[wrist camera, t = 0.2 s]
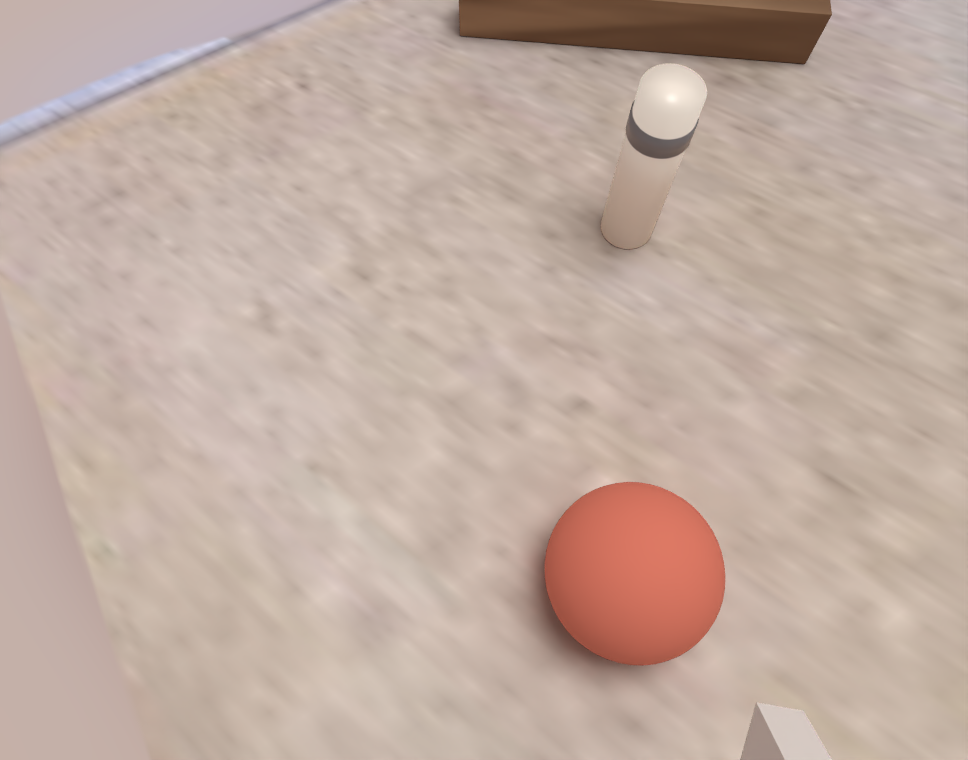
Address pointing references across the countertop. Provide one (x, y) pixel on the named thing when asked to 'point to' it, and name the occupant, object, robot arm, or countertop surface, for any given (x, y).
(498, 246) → the countertop surface
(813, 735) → the robot arm
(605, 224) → the pin
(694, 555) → the ball
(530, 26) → the long wooden block
